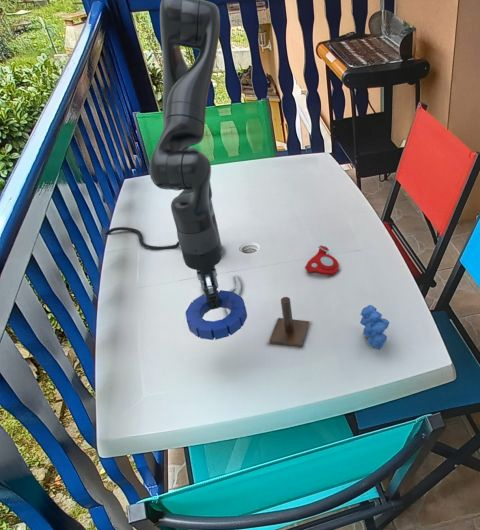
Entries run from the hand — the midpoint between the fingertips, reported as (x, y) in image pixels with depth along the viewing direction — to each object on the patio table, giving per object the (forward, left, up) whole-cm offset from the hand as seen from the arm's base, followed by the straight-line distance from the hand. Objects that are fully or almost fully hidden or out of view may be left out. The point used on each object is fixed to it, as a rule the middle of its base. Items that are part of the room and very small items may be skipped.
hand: (214, 302), depth 112 cm
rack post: (+15, +6, -14) cm, 21 cm away
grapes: (+37, +6, -14) cm, 40 cm away
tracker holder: (+18, +34, -14) cm, 41 cm away
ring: (+2, -4, -1) cm, 5 cm away
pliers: (-5, +16, -14) cm, 22 cm away
